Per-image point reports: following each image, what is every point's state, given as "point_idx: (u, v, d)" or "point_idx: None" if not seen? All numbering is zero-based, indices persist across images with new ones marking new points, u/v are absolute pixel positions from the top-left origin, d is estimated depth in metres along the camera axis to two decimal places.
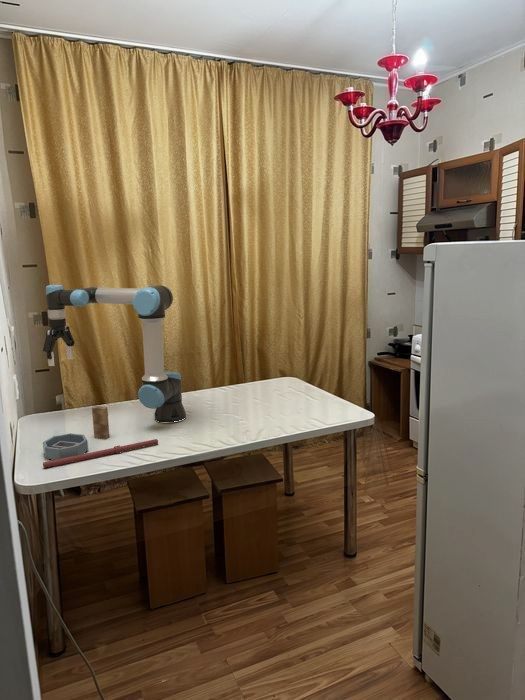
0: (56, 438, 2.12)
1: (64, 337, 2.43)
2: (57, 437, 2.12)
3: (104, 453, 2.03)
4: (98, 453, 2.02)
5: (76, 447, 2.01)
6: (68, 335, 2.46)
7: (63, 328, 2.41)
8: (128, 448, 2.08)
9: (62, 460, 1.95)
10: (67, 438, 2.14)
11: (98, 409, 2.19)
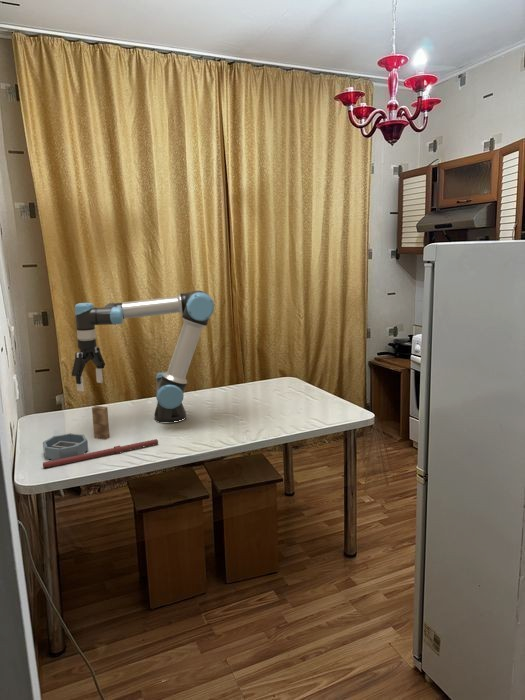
0: (56, 438, 2.12)
1: (94, 359, 2.24)
2: (57, 437, 2.12)
3: (104, 453, 2.03)
4: (98, 453, 2.02)
5: (76, 447, 2.01)
6: (98, 357, 2.28)
7: (93, 349, 2.23)
8: (128, 448, 2.08)
9: (62, 460, 1.95)
10: (67, 438, 2.14)
11: (98, 409, 2.19)
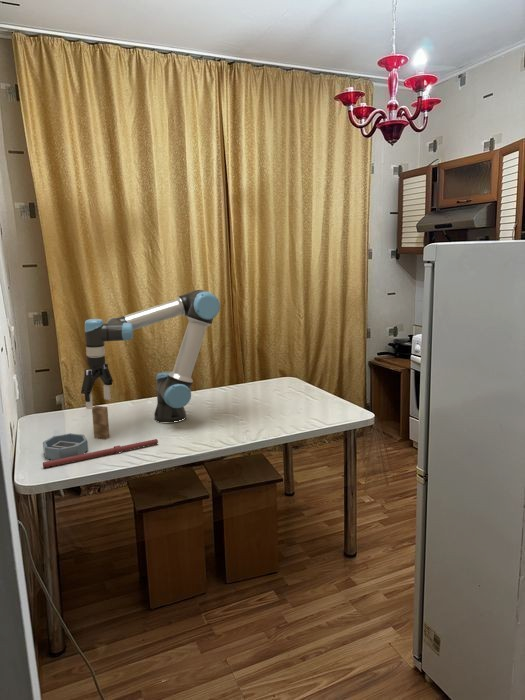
0: (56, 438, 2.12)
1: (102, 376, 2.20)
2: (57, 437, 2.12)
3: (104, 453, 2.03)
4: (98, 453, 2.02)
5: (76, 447, 2.01)
6: (106, 373, 2.24)
7: (102, 366, 2.19)
8: (128, 448, 2.08)
9: (62, 460, 1.95)
10: (67, 438, 2.14)
11: (98, 409, 2.19)
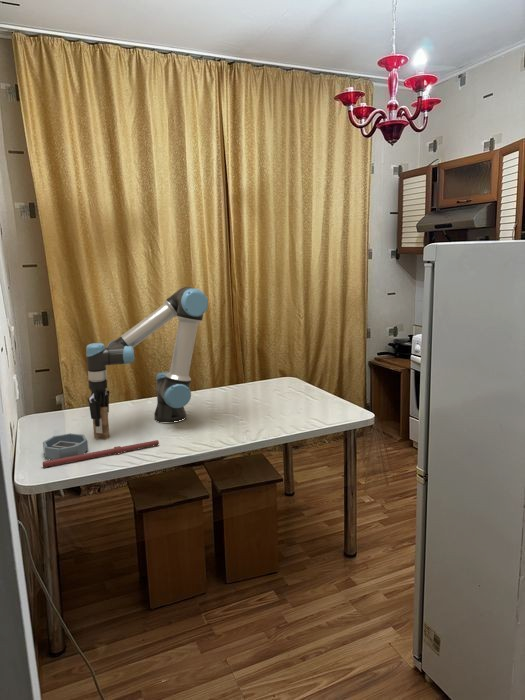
0: (56, 438, 2.12)
1: (102, 401, 2.21)
2: (57, 437, 2.12)
3: (104, 453, 2.03)
4: (98, 453, 2.02)
5: (76, 447, 2.01)
6: (105, 401, 2.24)
7: (104, 389, 2.21)
8: (128, 449, 2.08)
9: (61, 460, 1.96)
10: (67, 438, 2.14)
11: None
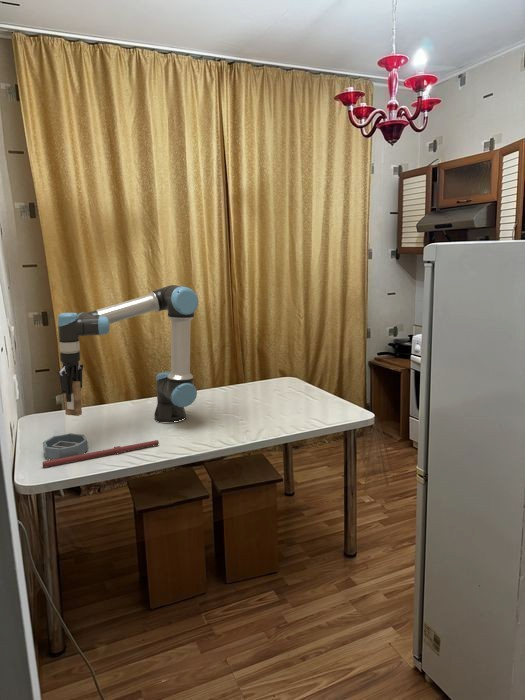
0: (56, 438, 2.12)
1: (74, 375, 2.07)
2: (57, 437, 2.12)
3: (104, 453, 2.03)
4: (98, 453, 2.02)
5: (76, 447, 2.01)
6: (78, 375, 2.10)
7: (77, 362, 2.08)
8: (128, 449, 2.08)
9: (61, 460, 1.96)
10: (67, 438, 2.14)
11: None
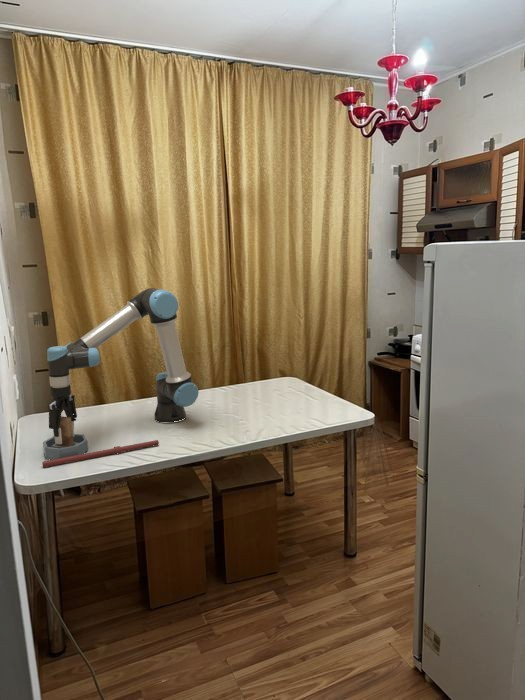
0: None
1: (67, 408, 2.06)
2: None
3: (104, 453, 2.03)
4: (98, 453, 2.02)
5: (76, 447, 2.01)
6: (71, 406, 2.09)
7: (68, 396, 2.05)
8: (128, 449, 2.08)
9: (61, 460, 1.96)
10: None
11: (61, 420, 2.03)
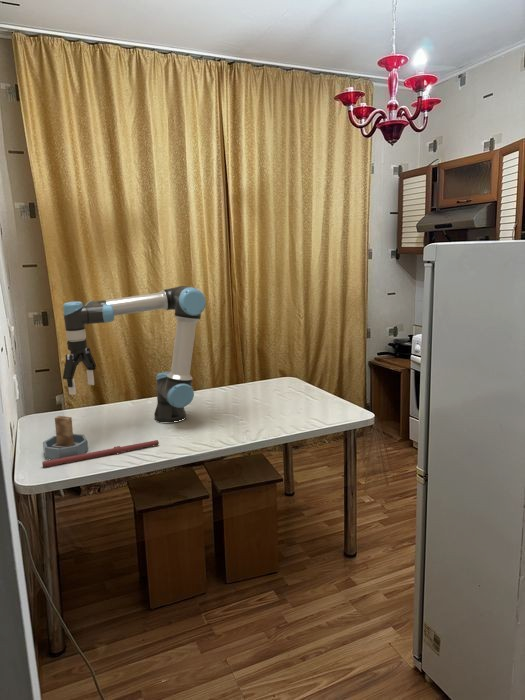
0: (56, 438, 2.12)
1: (85, 360, 2.14)
2: None
3: (104, 453, 2.03)
4: (98, 453, 2.02)
5: (76, 447, 2.01)
6: (89, 358, 2.17)
7: (83, 350, 2.12)
8: (128, 449, 2.08)
9: (61, 460, 1.96)
10: None
11: (61, 419, 2.03)
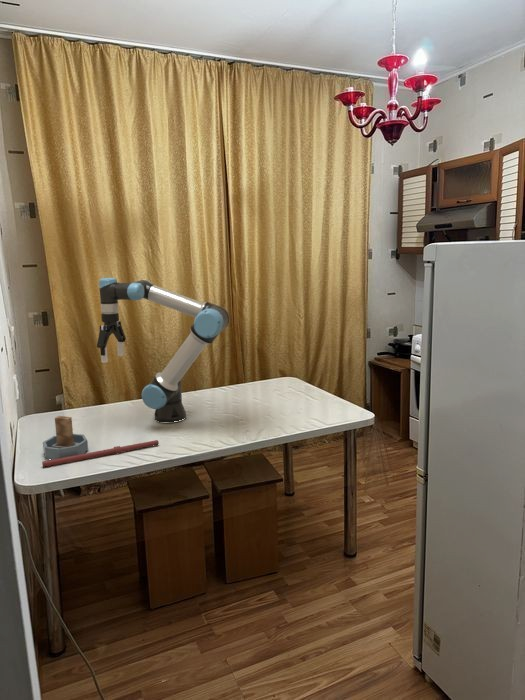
0: (56, 438, 2.12)
1: (116, 333, 2.33)
2: None
3: (104, 453, 2.03)
4: (98, 453, 2.02)
5: (76, 447, 2.01)
6: (119, 330, 2.36)
7: (115, 323, 2.31)
8: (128, 449, 2.08)
9: (61, 460, 1.96)
10: None
11: (61, 419, 2.03)
